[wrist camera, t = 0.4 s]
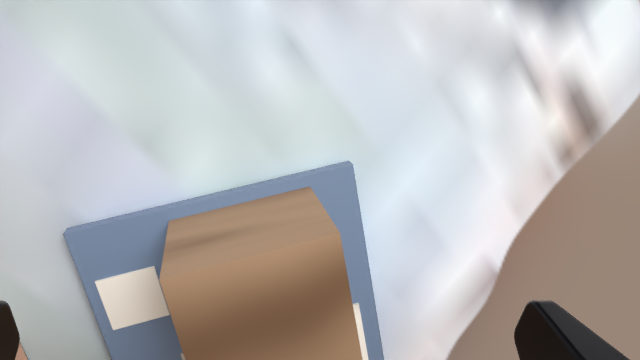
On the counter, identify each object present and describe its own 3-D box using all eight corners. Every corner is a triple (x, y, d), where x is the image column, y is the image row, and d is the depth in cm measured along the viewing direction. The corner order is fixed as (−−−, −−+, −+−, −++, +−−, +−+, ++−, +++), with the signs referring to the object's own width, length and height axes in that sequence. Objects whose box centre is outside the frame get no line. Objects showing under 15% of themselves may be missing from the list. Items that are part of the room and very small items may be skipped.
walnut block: (333, 304, 23) (365, 374, 19) (205, 340, 23) (206, 423, 18) (310, 186, 21) (340, 232, 17) (168, 220, 21) (159, 279, 16)
